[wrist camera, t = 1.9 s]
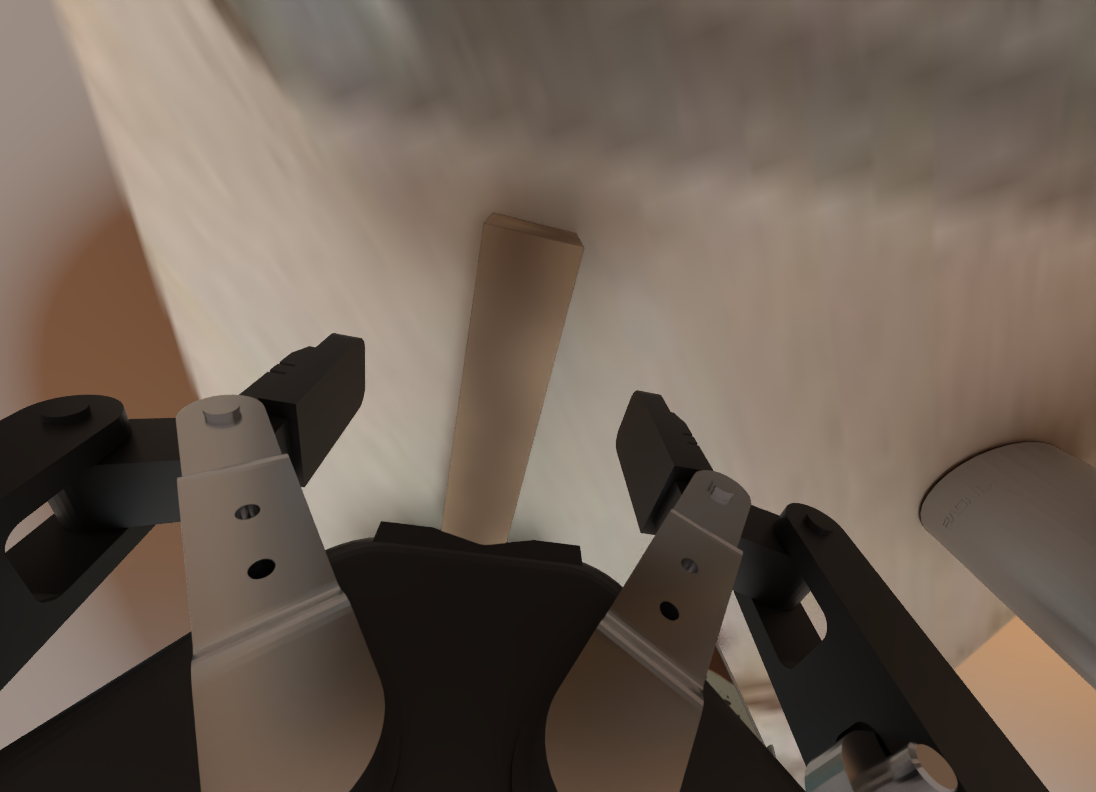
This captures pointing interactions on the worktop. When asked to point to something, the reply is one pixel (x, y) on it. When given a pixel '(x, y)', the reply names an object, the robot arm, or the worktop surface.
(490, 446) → the brown rectangular block
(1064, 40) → the worktop surface
